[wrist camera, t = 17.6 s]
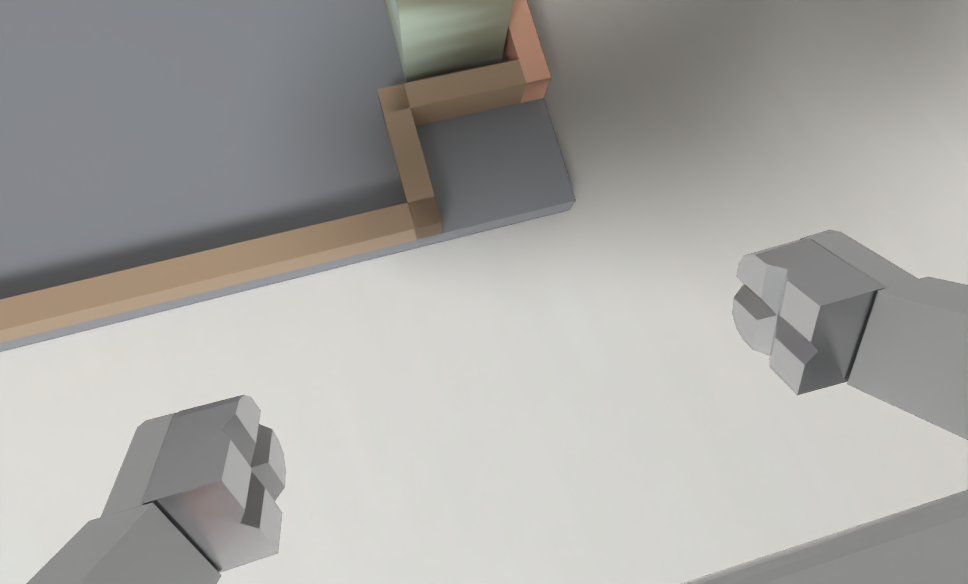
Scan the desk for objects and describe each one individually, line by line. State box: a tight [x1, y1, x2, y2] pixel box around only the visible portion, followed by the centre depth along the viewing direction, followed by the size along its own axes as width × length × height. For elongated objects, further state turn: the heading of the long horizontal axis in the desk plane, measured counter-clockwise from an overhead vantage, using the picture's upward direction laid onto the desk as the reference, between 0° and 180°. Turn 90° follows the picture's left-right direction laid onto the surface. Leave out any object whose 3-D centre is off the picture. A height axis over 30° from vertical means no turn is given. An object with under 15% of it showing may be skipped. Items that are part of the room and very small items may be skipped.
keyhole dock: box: [0, 0, 576, 352], centre depth 21 cm, size 25×17×3 cm
